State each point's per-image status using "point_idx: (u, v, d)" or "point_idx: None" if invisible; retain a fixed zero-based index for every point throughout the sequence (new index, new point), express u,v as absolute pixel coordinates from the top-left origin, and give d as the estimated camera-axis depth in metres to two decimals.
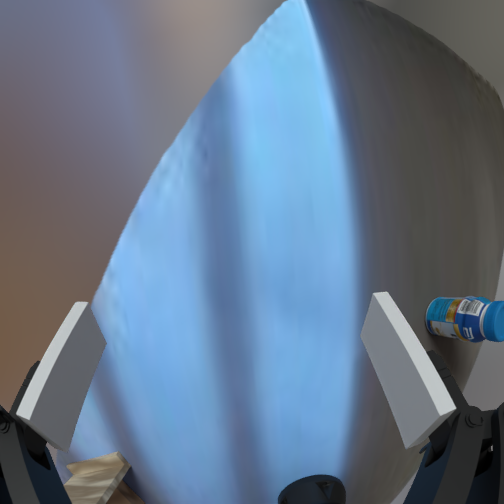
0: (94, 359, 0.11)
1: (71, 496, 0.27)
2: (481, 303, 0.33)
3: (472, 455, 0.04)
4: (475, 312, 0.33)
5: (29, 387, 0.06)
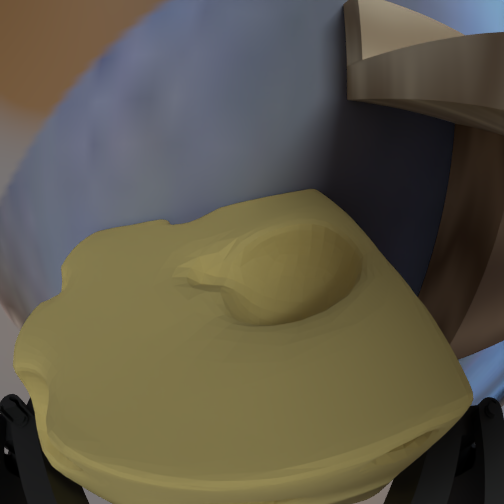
0: None
1: None
2: None
3: (452, 450, 0.05)
4: None
5: None
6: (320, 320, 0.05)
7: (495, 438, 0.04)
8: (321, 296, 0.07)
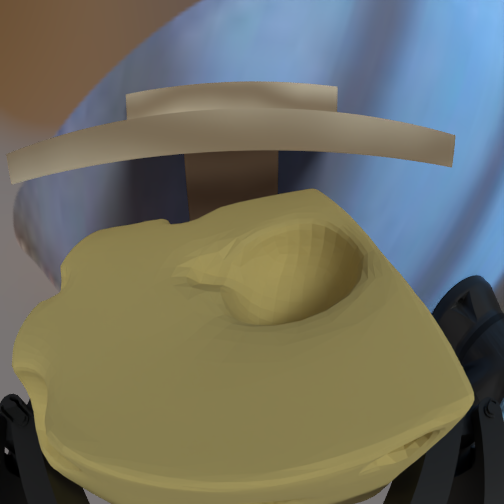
0: None
1: None
2: None
3: (451, 450, 0.05)
4: None
5: None
6: (320, 320, 0.05)
7: (495, 438, 0.04)
8: (321, 296, 0.07)
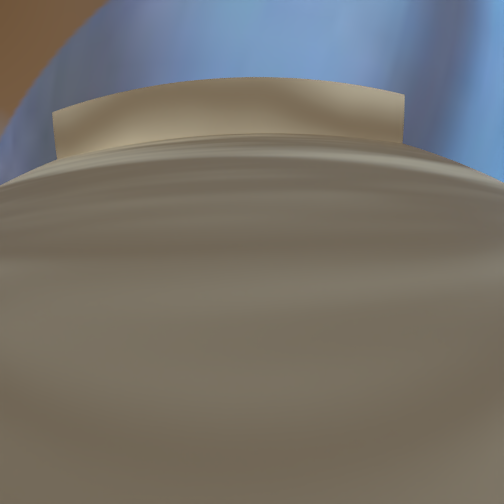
0: None
1: (53, 251, 0.02)
2: None
3: None
4: None
5: None
6: None
7: None
8: None
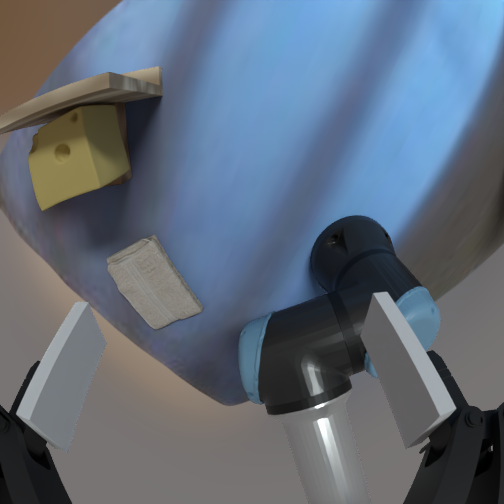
0: (94, 359, 0.11)
1: None
2: None
3: (472, 455, 0.04)
4: None
5: (29, 387, 0.06)
6: None
7: None
8: None
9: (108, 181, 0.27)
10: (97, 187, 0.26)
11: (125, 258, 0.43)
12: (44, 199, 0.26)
